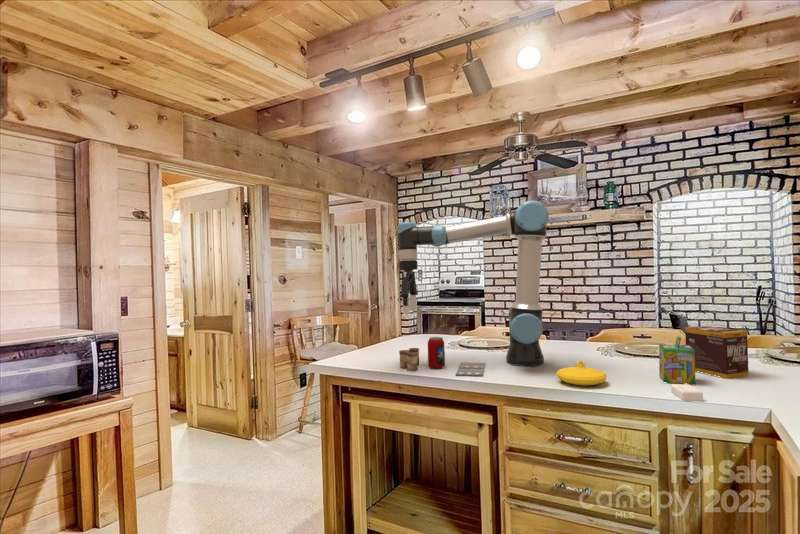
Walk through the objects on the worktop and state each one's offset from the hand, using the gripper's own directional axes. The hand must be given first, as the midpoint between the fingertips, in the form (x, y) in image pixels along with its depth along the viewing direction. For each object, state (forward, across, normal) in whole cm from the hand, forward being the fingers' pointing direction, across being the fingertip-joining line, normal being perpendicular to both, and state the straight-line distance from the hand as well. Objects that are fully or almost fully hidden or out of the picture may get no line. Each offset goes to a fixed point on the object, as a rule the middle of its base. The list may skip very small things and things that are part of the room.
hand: (409, 312), depth 180 cm
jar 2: (+23, -5, 0) cm, 23 cm away
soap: (+23, +30, +89) cm, 97 cm away
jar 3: (+23, +4, +1) cm, 23 cm away
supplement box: (+23, -2, +110) cm, 113 cm away
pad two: (+23, -4, +24) cm, 33 cm away
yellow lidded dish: (+23, +17, +62) cm, 68 cm away
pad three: (+23, +7, +24) cm, 34 cm away
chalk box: (+23, +11, +93) cm, 97 cm away
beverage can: (+23, -1, +10) cm, 25 cm away
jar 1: (+23, 0, -3) cm, 23 cm away
